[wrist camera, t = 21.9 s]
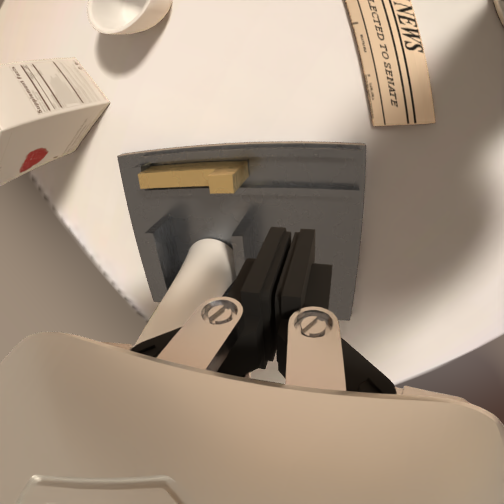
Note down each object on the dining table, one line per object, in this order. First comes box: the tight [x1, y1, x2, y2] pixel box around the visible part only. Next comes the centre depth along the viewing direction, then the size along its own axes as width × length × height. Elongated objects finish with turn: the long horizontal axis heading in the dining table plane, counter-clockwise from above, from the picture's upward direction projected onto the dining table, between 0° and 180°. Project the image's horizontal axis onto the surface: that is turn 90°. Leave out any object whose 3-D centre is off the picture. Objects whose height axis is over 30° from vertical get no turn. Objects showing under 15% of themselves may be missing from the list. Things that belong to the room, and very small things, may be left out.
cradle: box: [117, 141, 366, 320], centre depth 30 cm, size 25×20×5 cm
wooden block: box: [138, 161, 249, 194], centre depth 26 cm, size 10×2×5 cm, turn 94°
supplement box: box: [0, 57, 110, 186], centre depth 22 cm, size 9×9×15 cm
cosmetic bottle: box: [134, 239, 236, 346], centre depth 24 cm, size 6×6×22 cm
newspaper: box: [345, 0, 435, 126], centre depth 17 cm, size 24×7×2 cm, turn 13°
